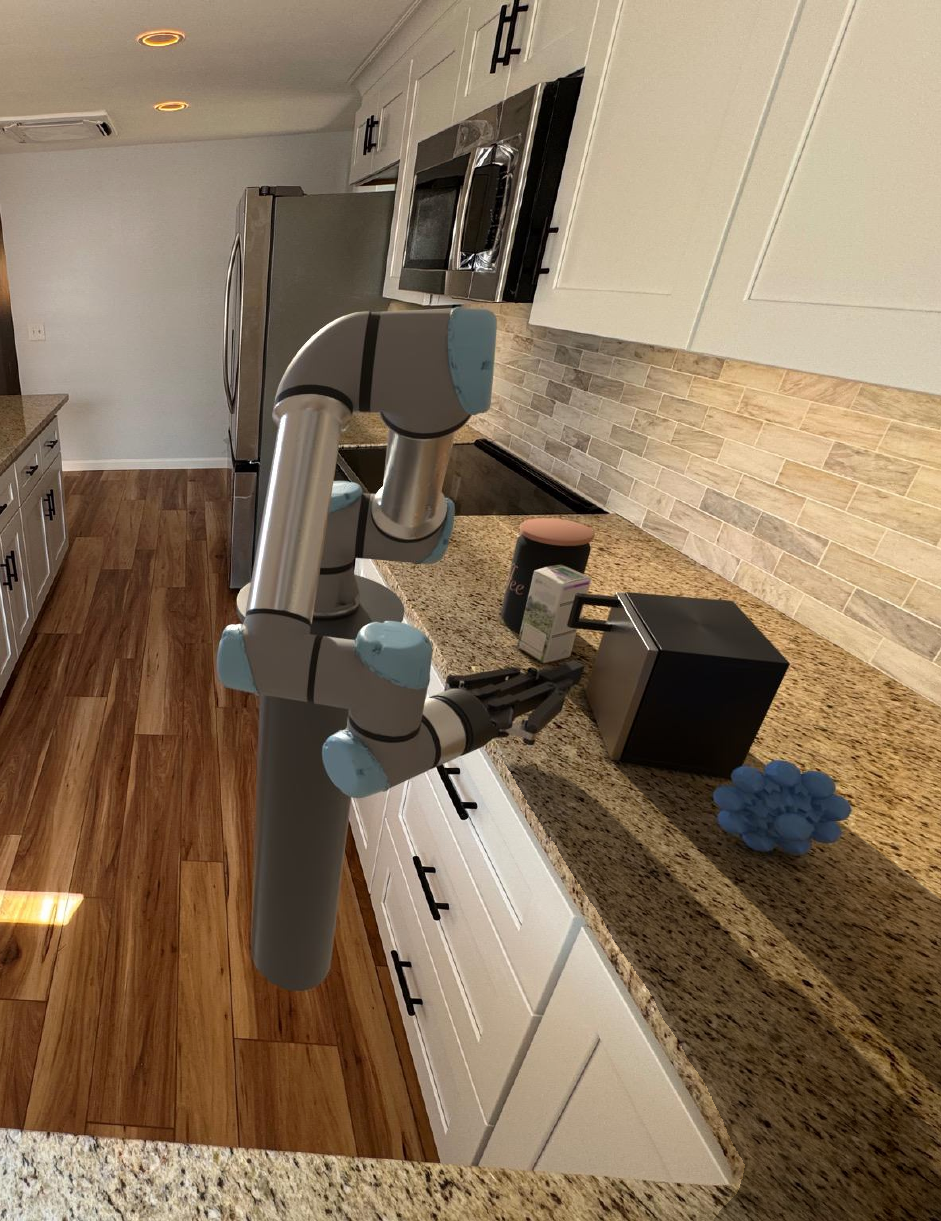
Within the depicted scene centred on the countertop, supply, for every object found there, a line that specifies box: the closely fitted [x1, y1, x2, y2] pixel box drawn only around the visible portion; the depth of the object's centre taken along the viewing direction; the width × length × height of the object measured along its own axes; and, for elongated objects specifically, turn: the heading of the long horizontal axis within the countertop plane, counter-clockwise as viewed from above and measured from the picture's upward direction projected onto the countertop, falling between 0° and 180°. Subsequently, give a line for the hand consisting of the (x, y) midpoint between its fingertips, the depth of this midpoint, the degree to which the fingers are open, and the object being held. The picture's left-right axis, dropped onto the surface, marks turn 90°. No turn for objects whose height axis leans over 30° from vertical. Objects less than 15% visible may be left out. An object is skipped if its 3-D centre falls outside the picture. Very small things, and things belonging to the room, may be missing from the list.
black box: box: [620, 591, 791, 780], centre depth 87 cm, size 12×16×17 cm
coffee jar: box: [500, 517, 596, 634], centre depth 115 cm, size 11×11×18 cm
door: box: [567, 591, 658, 762], centre depth 90 cm, size 6×16×17 cm, turn 159°
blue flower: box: [712, 759, 852, 856], centre depth 70 cm, size 12×7×12 cm, turn 72°
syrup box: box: [516, 565, 592, 664], centre depth 107 cm, size 6×6×14 cm
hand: (576, 671), depth 87 cm, fingers closed
